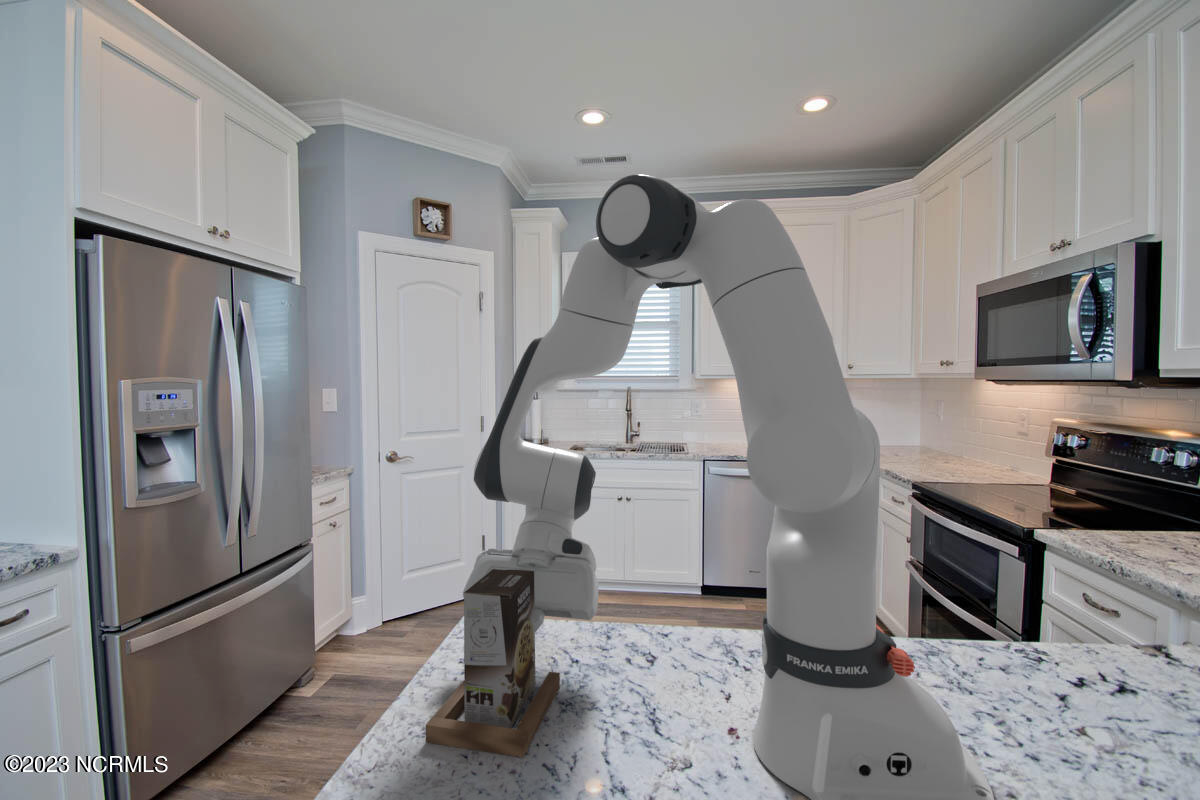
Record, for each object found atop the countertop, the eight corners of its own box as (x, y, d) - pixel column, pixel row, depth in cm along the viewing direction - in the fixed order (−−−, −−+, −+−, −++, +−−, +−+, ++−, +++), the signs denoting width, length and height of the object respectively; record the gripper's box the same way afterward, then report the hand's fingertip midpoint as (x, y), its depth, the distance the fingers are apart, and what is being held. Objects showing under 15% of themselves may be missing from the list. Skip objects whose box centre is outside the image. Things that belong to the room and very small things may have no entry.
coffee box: (512, 730, 59) (511, 595, 59) (462, 723, 61) (461, 592, 61) (537, 686, 68) (536, 569, 68) (493, 681, 70) (492, 566, 70)
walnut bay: (559, 687, 68) (559, 672, 68) (523, 757, 55) (523, 739, 55) (478, 677, 71) (478, 663, 71) (425, 742, 58) (425, 724, 58)
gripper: (474, 538, 79) (442, 628, 70) (599, 546, 74) (583, 643, 65) (486, 557, 83) (458, 644, 74) (606, 565, 79) (592, 659, 69)
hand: (518, 644), depth 69 cm, fingers closed, pressing on coffee box
